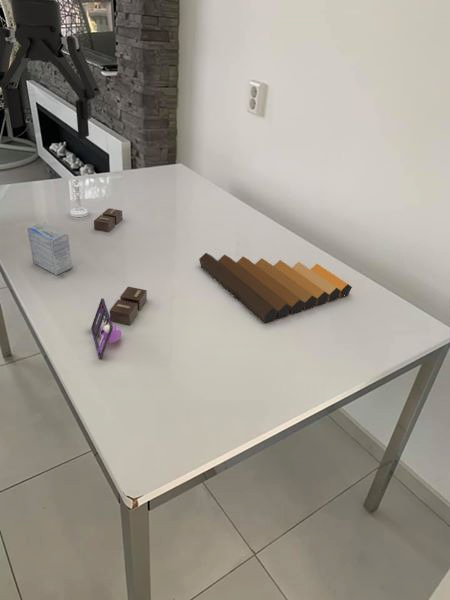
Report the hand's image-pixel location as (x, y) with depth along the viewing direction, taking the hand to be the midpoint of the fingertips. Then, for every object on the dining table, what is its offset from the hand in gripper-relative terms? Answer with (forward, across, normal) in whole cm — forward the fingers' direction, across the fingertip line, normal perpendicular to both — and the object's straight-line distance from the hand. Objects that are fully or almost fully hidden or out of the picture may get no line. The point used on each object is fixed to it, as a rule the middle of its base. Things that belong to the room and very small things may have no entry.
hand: (50, 131), depth 86 cm
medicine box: (+29, +2, +2) cm, 29 cm away
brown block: (+29, 0, -23) cm, 37 cm away
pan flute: (+29, -46, -10) cm, 55 cm away
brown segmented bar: (+29, -20, +12) cm, 37 cm away
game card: (+29, -20, +22) cm, 42 cm away
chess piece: (+29, +10, -26) cm, 40 cm away
